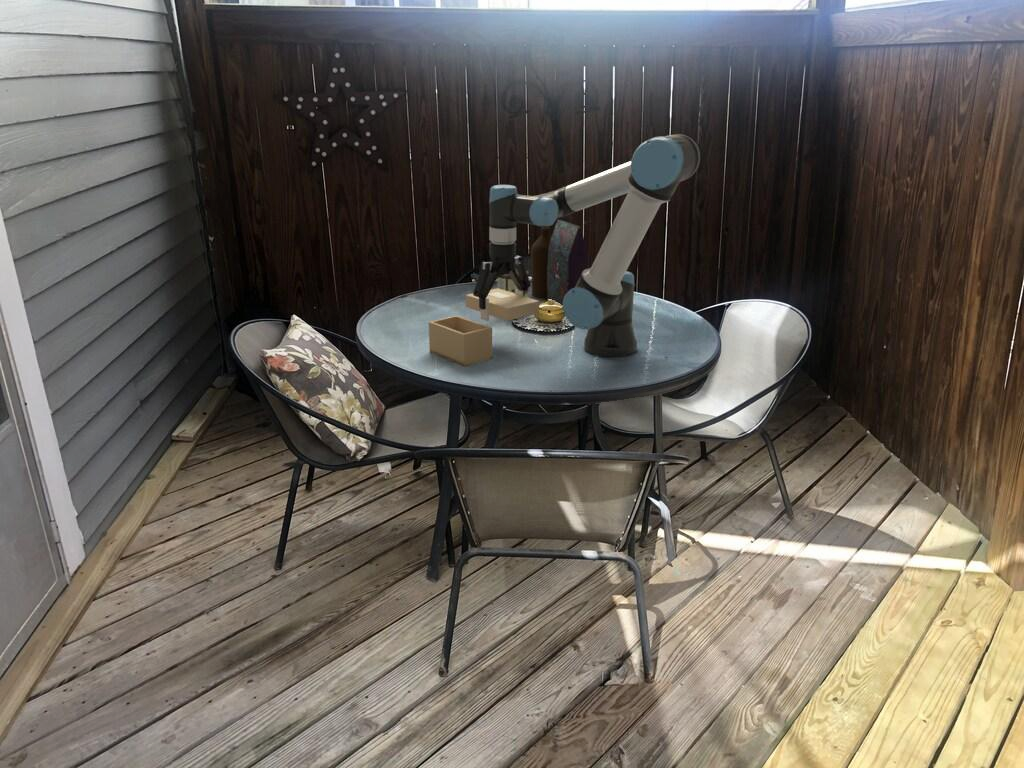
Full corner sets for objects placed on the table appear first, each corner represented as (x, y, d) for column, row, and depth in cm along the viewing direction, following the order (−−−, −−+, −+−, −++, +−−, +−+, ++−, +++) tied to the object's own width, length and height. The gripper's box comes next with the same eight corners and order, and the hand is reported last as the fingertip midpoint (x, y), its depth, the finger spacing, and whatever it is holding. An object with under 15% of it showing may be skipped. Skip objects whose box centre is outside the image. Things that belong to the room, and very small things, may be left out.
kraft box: (492, 358, 235) (492, 327, 232) (464, 366, 229) (463, 334, 225) (457, 345, 246) (456, 315, 243) (429, 352, 240) (428, 321, 237)
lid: (539, 313, 240) (539, 300, 238) (506, 320, 232) (506, 308, 231) (497, 299, 252) (497, 287, 251) (465, 306, 245) (465, 294, 244)
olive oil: (534, 299, 294) (535, 228, 285) (527, 292, 304) (527, 222, 295) (563, 297, 296) (565, 226, 288) (555, 290, 306) (556, 221, 297)
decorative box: (566, 298, 296) (568, 218, 286) (589, 309, 282) (592, 226, 272) (545, 300, 292) (546, 220, 282) (567, 312, 278) (569, 228, 268)
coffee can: (517, 308, 284) (517, 267, 279) (535, 315, 276) (535, 272, 271) (491, 312, 278) (491, 271, 273) (508, 320, 270) (508, 277, 265)
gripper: (526, 234, 245) (524, 305, 253) (460, 245, 230) (460, 320, 238) (543, 238, 240) (541, 311, 248) (477, 249, 225) (477, 326, 233)
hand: (502, 315), depth 243 cm, fingers closed on lid, 12 cm apart
